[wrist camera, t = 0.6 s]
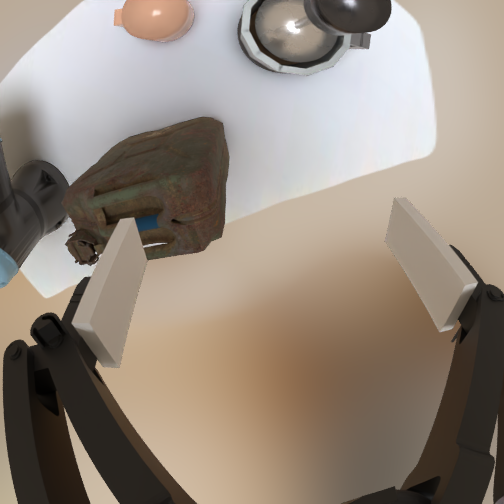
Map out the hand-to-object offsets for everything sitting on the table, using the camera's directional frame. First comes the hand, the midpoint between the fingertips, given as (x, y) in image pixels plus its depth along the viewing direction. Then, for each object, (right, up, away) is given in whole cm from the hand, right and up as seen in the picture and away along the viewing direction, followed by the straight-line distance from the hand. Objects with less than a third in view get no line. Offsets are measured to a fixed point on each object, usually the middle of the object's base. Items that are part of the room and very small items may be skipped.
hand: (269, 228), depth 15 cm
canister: (-14, +16, +31) cm, 38 cm away
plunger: (+4, +24, +11) cm, 26 cm away
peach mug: (-13, +33, +18) cm, 40 cm away
